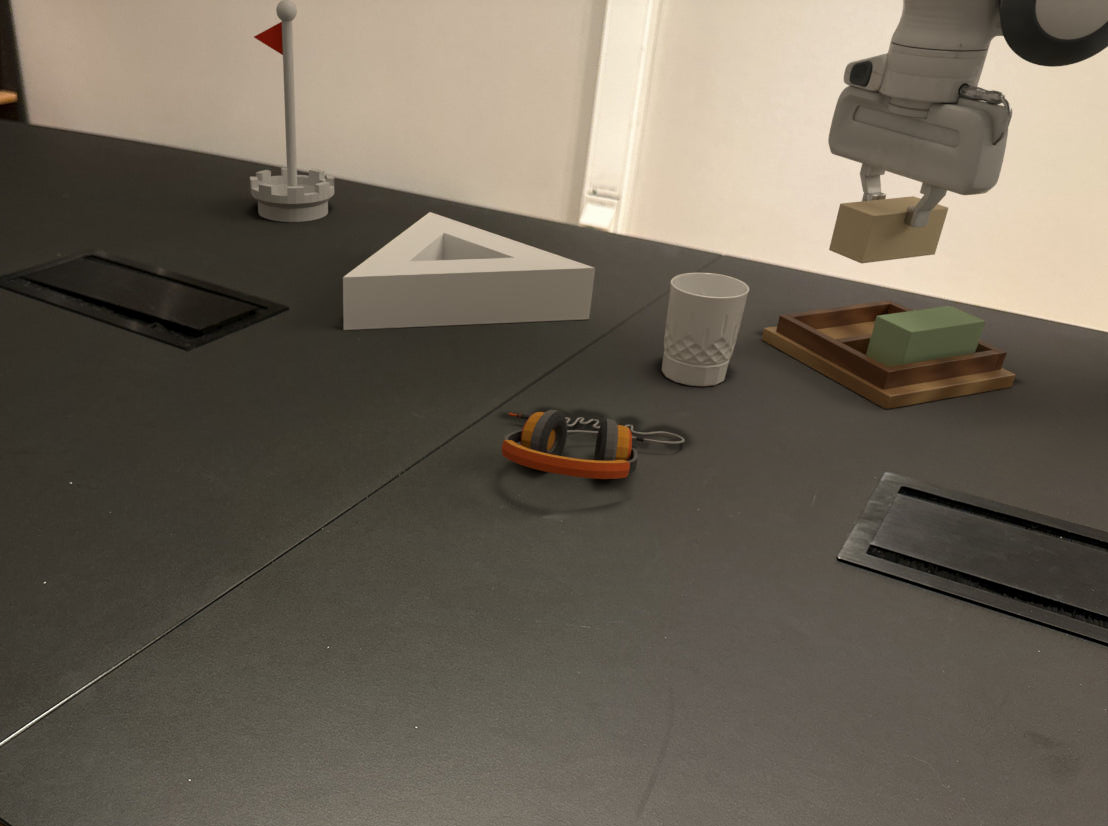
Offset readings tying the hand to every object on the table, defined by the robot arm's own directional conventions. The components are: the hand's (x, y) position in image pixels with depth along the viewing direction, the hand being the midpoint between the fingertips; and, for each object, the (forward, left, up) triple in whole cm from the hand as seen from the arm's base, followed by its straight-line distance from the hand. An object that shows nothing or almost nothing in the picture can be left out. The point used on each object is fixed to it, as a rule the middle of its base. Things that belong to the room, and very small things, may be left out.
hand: (891, 217), depth 111 cm
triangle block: (+33, -28, -15) cm, 46 cm away
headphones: (+43, +13, -15) cm, 48 cm away
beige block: (0, 0, -4) cm, 4 cm away
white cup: (+21, -1, -15) cm, 26 cm away
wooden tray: (-1, +3, -15) cm, 16 cm away
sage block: (-1, +7, -14) cm, 16 cm away
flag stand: (+44, -76, -15) cm, 89 cm away
